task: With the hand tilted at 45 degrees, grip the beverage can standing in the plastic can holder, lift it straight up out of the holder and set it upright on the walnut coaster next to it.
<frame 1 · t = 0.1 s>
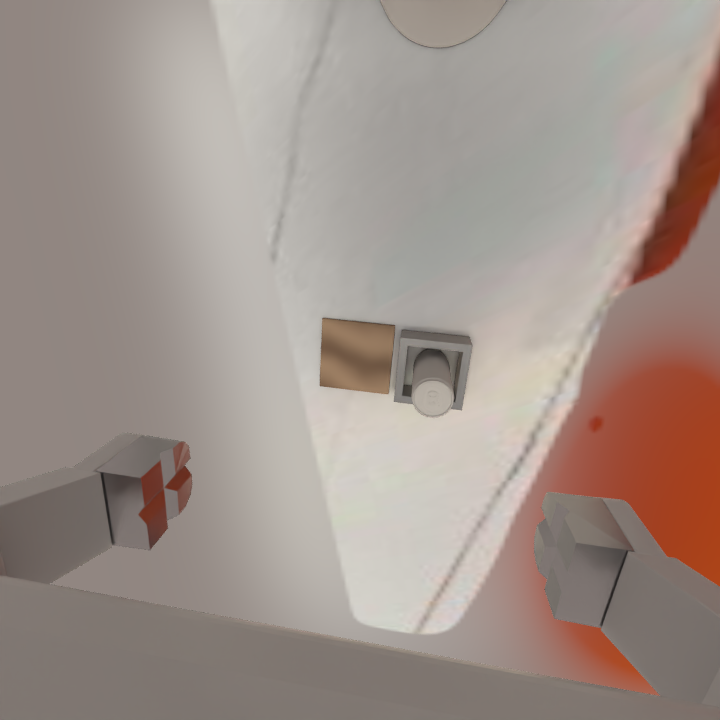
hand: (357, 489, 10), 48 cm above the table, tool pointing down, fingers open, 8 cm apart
beverage can: (431, 363, 59), resting in can holder
can holder: (431, 364, 58), on the table
coaster: (356, 356, 60), on the table
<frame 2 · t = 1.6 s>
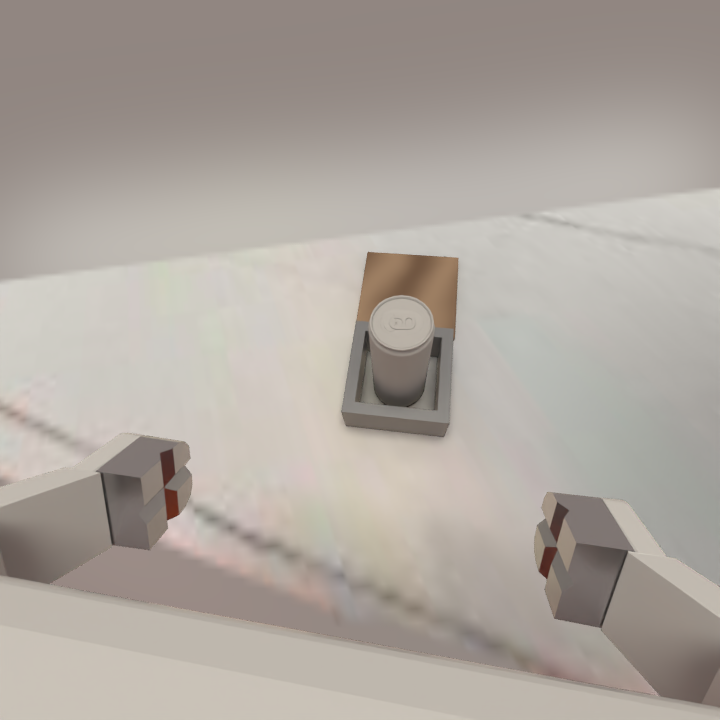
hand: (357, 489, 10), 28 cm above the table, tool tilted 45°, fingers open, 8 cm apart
beverage can: (398, 386, 41), resting in can holder
can holder: (398, 386, 41), on the table
coaster: (408, 295, 45), on the table
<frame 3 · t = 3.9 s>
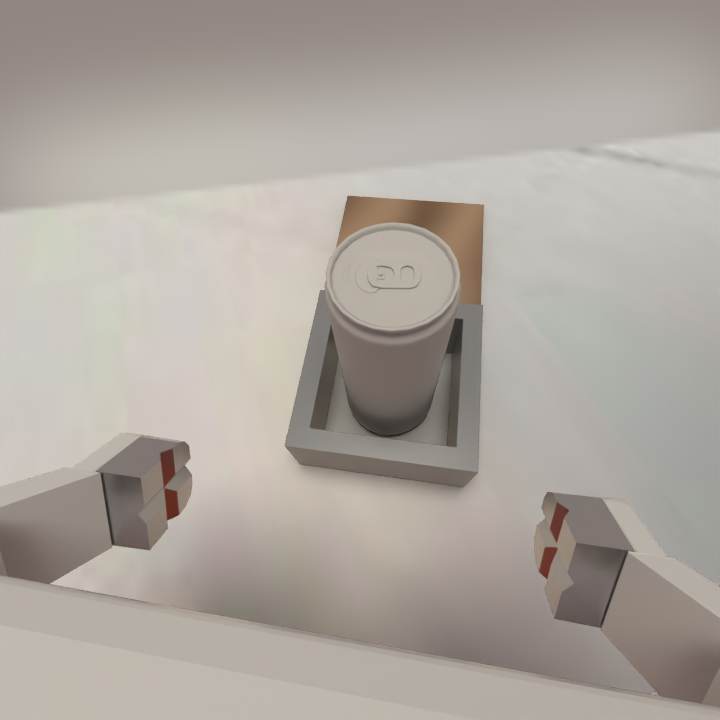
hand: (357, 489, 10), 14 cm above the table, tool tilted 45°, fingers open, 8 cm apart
beverage can: (389, 400, 25), resting in can holder
can holder: (389, 398, 25), on the table
coaster: (407, 259, 30), on the table
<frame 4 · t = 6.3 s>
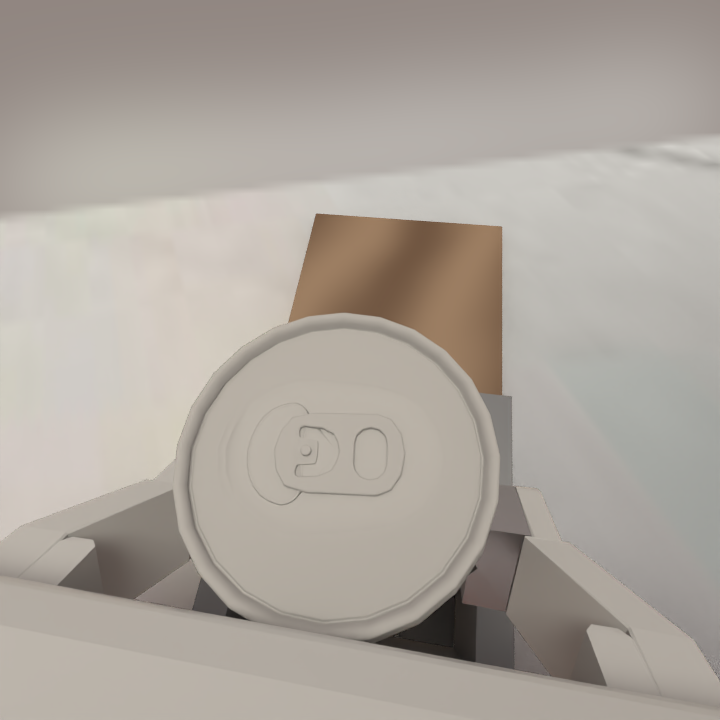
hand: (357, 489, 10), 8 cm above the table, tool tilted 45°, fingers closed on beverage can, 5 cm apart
beverage can: (368, 526, 17), resting in can holder, touching gripper
can holder: (367, 526, 17), on the table
coaster: (396, 303, 21), on the table
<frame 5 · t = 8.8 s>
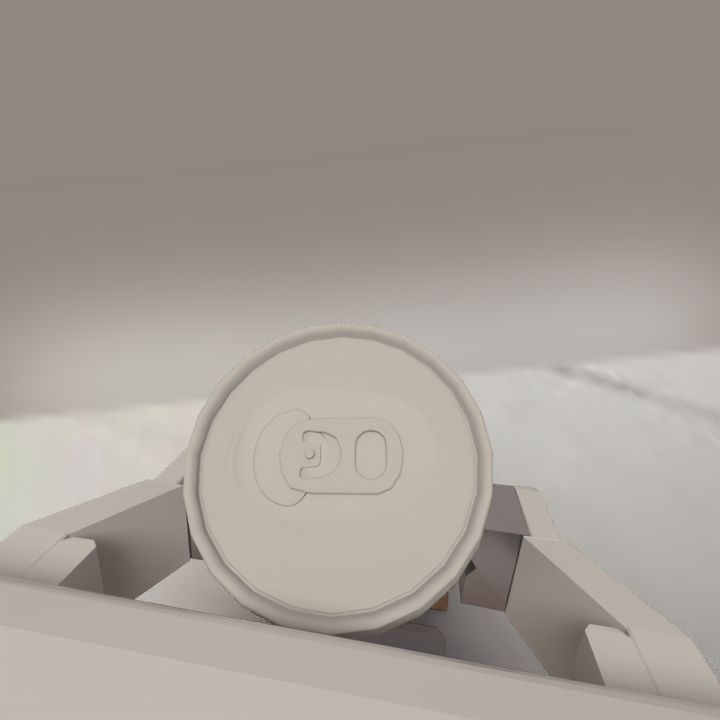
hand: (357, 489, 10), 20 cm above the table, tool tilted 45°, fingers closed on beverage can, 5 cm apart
beverage can: (365, 532, 17), point 12 cm above the table, touching gripper
can holder: (349, 704, 24), on the table
when the fingers open (10 cm above the table, at t = 11.4 s): beverage can drops 1 cm, resting on coaster.
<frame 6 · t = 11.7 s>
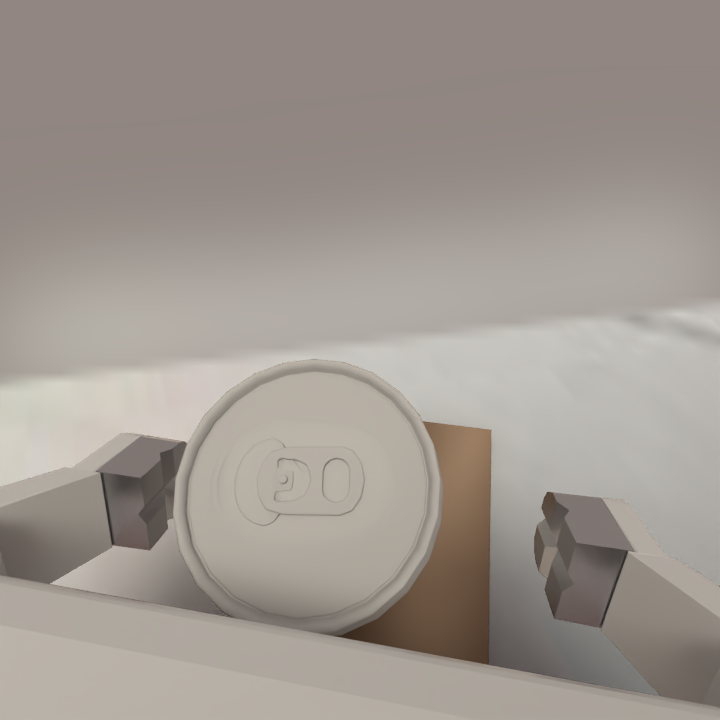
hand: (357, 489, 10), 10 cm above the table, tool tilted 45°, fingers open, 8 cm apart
beverage can: (352, 531, 18), resting on coaster
coaster: (369, 529, 18), on the table
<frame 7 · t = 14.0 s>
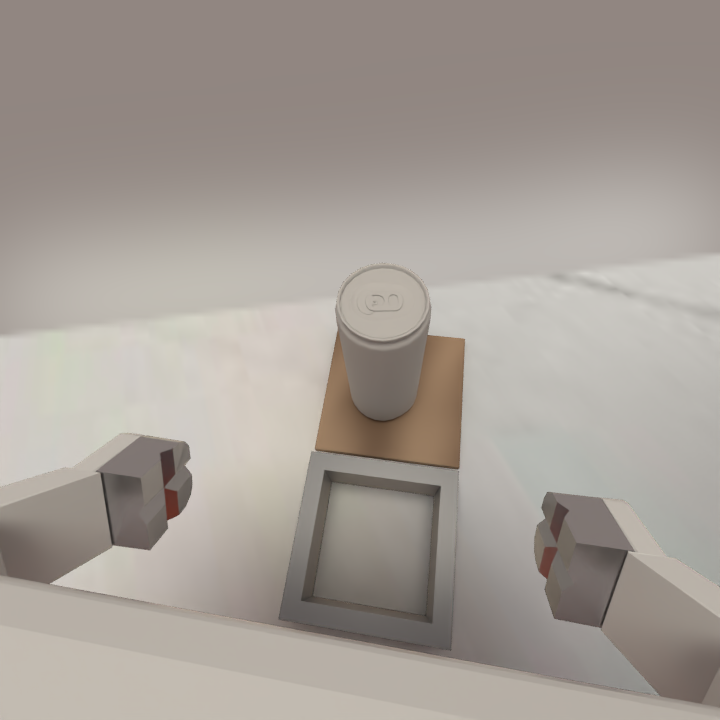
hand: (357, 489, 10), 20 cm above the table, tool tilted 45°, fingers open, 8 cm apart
beverage can: (383, 393, 31), resting on coaster
can holder: (375, 544, 27), on the table
coaster: (393, 393, 32), on the table
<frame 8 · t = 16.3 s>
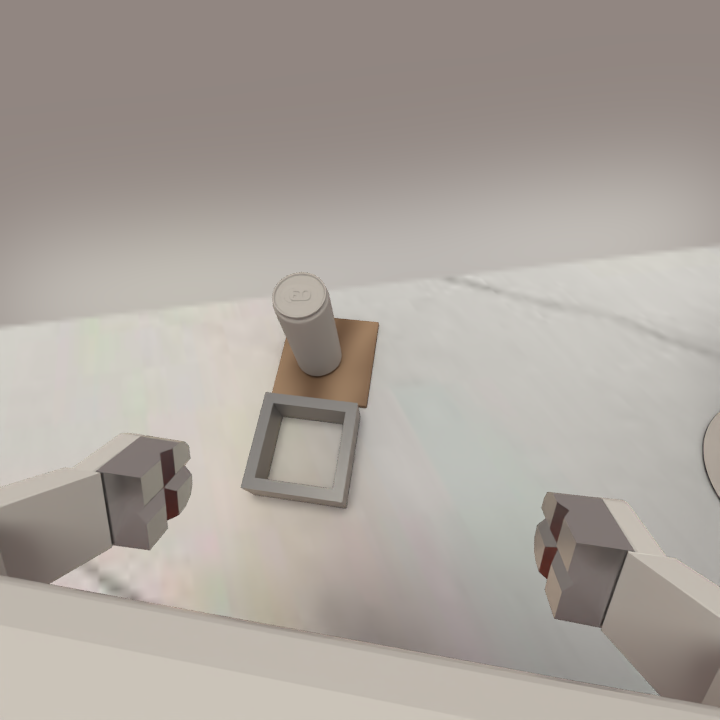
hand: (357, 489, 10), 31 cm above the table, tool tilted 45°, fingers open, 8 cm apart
beverage can: (320, 359, 46), resting on coaster
can holder: (308, 454, 42), on the table
coaster: (327, 359, 46), on the table
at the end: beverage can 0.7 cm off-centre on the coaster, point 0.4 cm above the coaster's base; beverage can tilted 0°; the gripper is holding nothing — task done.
